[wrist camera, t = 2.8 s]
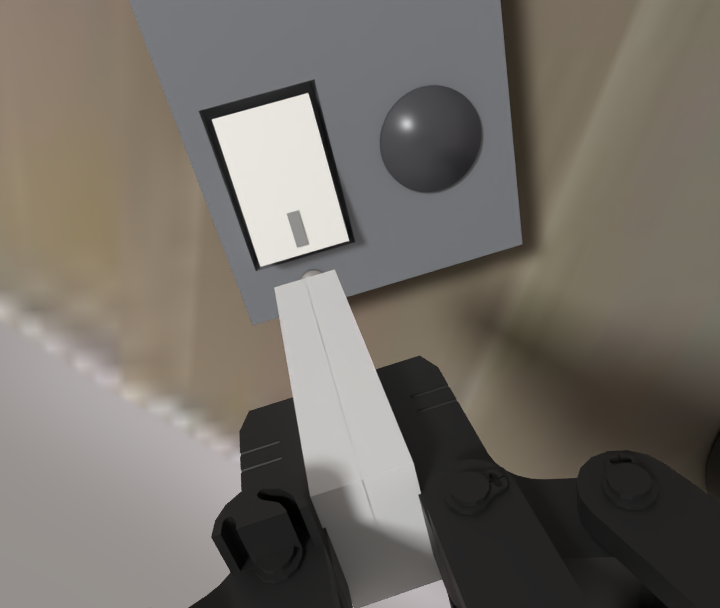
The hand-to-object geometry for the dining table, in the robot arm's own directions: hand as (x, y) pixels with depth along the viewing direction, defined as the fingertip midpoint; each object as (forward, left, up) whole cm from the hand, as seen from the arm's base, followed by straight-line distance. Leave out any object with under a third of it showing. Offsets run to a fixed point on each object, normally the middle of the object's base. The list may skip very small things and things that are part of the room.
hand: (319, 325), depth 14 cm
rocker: (+2, 0, -7) cm, 7 cm away
